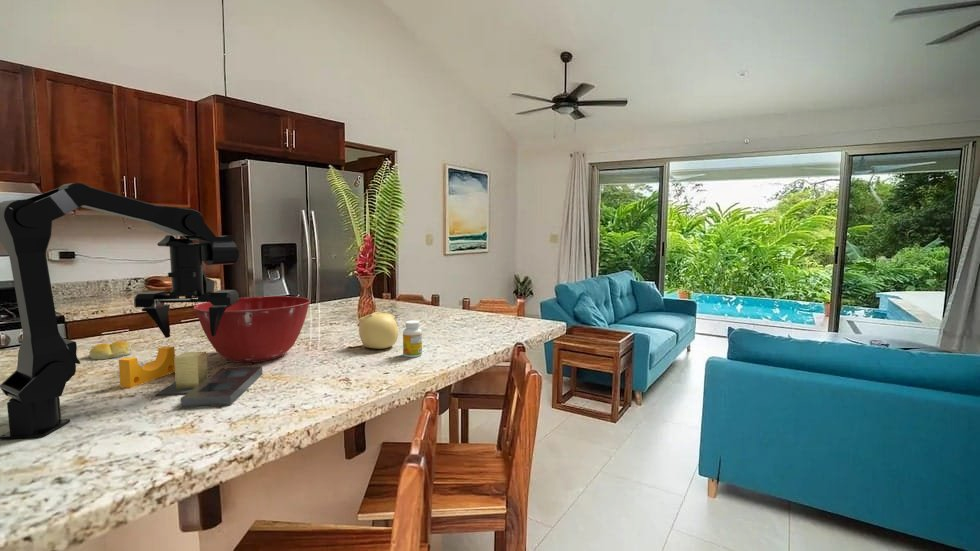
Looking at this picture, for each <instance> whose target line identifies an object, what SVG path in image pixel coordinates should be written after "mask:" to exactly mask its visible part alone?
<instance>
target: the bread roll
mask: <svg viewBox="0 0 980 551" xmlns="http://www.w3.org/2000/svg"><path fill="white" fill-rule="evenodd" d="M132 351H133V350H132V345H131V344H130V343H129V342H127V341H123V340H117V341H114V342H112V343H104V342H103V343H100V344H96V345H95V346H93V347H92V348H91V349H90V351H89V358H90V359H92V360H109V358H110V359H118V358H117V357H119V358H123V356H124V357H127V356H130V355H131V354H132Z"/></svg>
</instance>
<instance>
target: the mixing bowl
mask: <svg viewBox="0 0 980 551" xmlns="http://www.w3.org/2000/svg"><path fill="white" fill-rule="evenodd" d="M310 303H311V299H309V298H306V297H301V296H283V295H281V296H277V295H275V296H274V295H273V296H270V295H269V296H267V295H266V296H250V297H248V296H247V297H239V302H236V303H234V304H233V305H232V306H230V307H228V308H226V310H225V311H224V313H223V315H222V317H221V320H220V323H219V326H218V329H217V332H216V335H215V336H212V335H211V331H210V318H209V307H212V306H214V305H212V304H211V303H210V302H200V303H199V304H195V305H194V306H193V309H194V310H195V312H196V315H197V317H198V321H199V323H200V326H201V328H202V330H203V332H204V335H205V336H206V338H207V339H208V341H209V342H210V345H211V346H212V347H213V348H214V350H215V351H216V352H217V354H219V355H220V356H222V358H224V359H228V360H229V361H231V362H233V363H240V364H241V363H245V364H246V363H259V362H266V361H270V360H274V359H278V358H279V357H281V356H284V354H286V353H287V352H289V350H291V348H292V347H293V346H294V345H295V344H296V342H297V340H298V338H299V335H300V334H301V331H302V329H303V326H304V323H305V320H306V317H307V313H308V309H309V306H310V305H309V304H310Z"/></svg>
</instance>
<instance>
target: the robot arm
mask: <svg viewBox="0 0 980 551" xmlns="http://www.w3.org/2000/svg"><path fill="white" fill-rule="evenodd" d="M80 207H81V208H84V209H88V210H93V211H97V212H101V213H106V214H109V215H114V216H116V217H121V218H125V219H130V220H134V221H139V222H141V223H145V224H148V225H150V226H152V227H154V228H155V229H157V230H160V231H163V232H164V233H167V235H165V236H164V238H163V239H162V240H160V241H159V242H157V246H158V247H168V248H169V260H170V272H168V273H167V275H168V276H167V277H168V278H170V279H171V291H168V292H169V294H168V292H167V291H166V290H149V291H144V292H139V293H137V294H136V295H135V296H134V298H133V306H134V308H141V311H142V312H146V313H147V314H148V315H149V316H150V318H151V319H152V321H154V323H155V324H156V325H157V328H158V329H159V330H160V332H161V333H162V334H163V336H164V337H165V339H168V338H170V337H171V326H170V316H169V311H170V306H171V304H170V303H172V304H174V303H177V304H178V303H206V302H210V303H211V304H212V305H214V306H212V307H209V318H210V331H211V335H212V336H215V335H216V332H217V329H218V326H219V323H220V320H221V317H222V315H223V313H224V311H225V310H226V308H228V307H230V306H232V305H233V304H234V303H236V302H239V298H240V294H239V292H238V291H237V290H236V289H218V290H216V291H215V282H216V281H214V280H213V279H211V278H210V277H209V278H208V277H207V276H206V274H207V273H206V270H204V269H203V263H204V264H205V265H207V266H221V265H234V264H236V263H237V262H238V260H239V257H240V250H239V249H238V246H237V244H236V243H235V241H234V240H233V236H232V235H219V236H216V235H215V234H214V232H213V231H212V230H211V229H210V228H209V226H208V224H206V223H205V219H204V217H203V215H202V213H201V212H200V211H198V210H195V209H194V208H185V207H176V206H168V205H167V206H164V205H157V204H154V203H149V202H147V201H142V200H139V199H135V198H132V197H128V196H125V195H124V196H123V195H121V194H119V193H118V194H117V193H114V192H110V191H106V190H103V189H99V188H96V187H92V186H90V185H87V184H85V183H83V182H82V183H81V182H72V183H64V184H62V185H60V186H59V187H57V188H55V189H52V190H49V191H45V192H43V193H39V194H36V195H34V196H32V197H29V198H24V199H11V200H4V201H1V202H0V243H1V244H2V246H3V248H4V249H5V251H6V253H7V254H8V258H9V262H10V267H11V274H12V279H13V284H14V290H15V295H16V301H17V305H18V306H17V307H18V313H19V319H20V324H21V325H20V326H21V331H22V338H21V339H22V340H21V342H20V346H19V348H18V351H17V362H16V363H17V365H16V370H15V371H14V372H13V373H12V374H10V375H9V376H8V377H7V378H6V379H5V380H4V381H3V382H2V383H0V390H1V391H2V393H3V394H4V395H5V396H6V397H10V399H9V400H8V402H6V406H7V408H6V409H7V417H8V428H9V429H8V430H9V431H8V432H5V433H3V434H1V435H0V440H12V439H13V440H14V439H27V438H42V437H45V436H47V435H49V434H51V433H53V432H54V431H57V430H58V429H59V428H61V427H63V426H65V425H66V424H69V423H70V422H71V418H62V412H61V403H60V402H61V401H60V397H62V395H63V393H64V390H65V387H66V385H67V382H69V381H70V380H71V379H72V377H73V376H75V375H76V372H77V365H80V364H81V361H80V360H79V358H78V355H77V352H78V351H77V346H78V345H77V342H76V341H73V340H71V339H67V338H63V337H62V335H61V334H60V331H59V326H58V320H57V313H56V308H55V302H54V295H53V290H52V284H51V277H50V272H49V271H50V270H49V265H48V260H47V250H48V247H49V244H50V241H51V238H52V228H53V221H54V220H57V219H59V218H62V217H63V216H66V215H68V214H69V213H71V212H73V211H74V210H77V209H79V208H80ZM175 236H181V237H182V238H176V237H175ZM194 241H198V243H197V242H195V243H194ZM180 297H181V298H180ZM184 297H185V298H184ZM76 364H77V365H76Z"/></svg>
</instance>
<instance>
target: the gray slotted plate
mask: <svg viewBox="0 0 980 551" xmlns="http://www.w3.org/2000/svg"><path fill="white" fill-rule="evenodd" d="M262 375H263V366H261V365H260V366H239V367H238V366H237V367H236V366H235V367H221V368H220V369H218V371H216V372H214V373H213V374H211V375H210V376H209V377H208V379H206V380H205V381H204V382H202V383H201V384H199V385H198V386H197V387H195V388H194V389H193V390H191V391H190V392H189V393H187V394H184V395H182V397H180V408H181V409H188V408H189V409H190V408H207V407H222V406H223V407H225V406H226V407H228V406H232V405H233V404H234V403H235V402H236V401H237V400H238V399H239V398H240V397H241V396H242V395H243V394H244V393H245V392H246V391H247V390H248V389H250V388H251V386H252V385H253V384H254V383H255V382H256V381H257V380H259V379H260V378H261V376H262Z"/></svg>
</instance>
